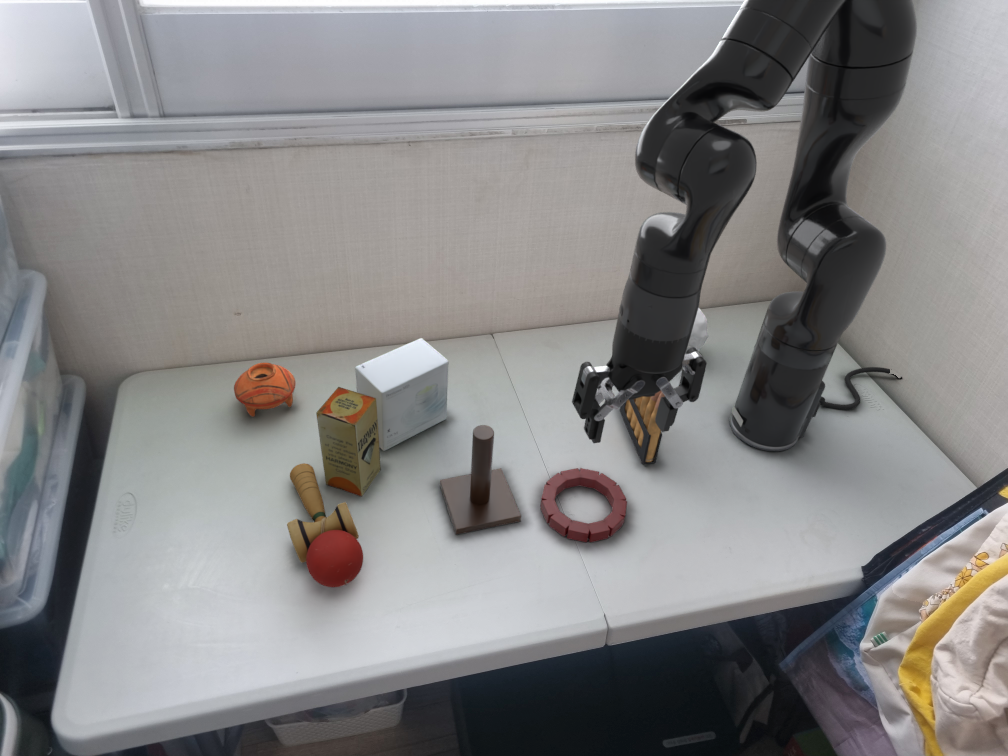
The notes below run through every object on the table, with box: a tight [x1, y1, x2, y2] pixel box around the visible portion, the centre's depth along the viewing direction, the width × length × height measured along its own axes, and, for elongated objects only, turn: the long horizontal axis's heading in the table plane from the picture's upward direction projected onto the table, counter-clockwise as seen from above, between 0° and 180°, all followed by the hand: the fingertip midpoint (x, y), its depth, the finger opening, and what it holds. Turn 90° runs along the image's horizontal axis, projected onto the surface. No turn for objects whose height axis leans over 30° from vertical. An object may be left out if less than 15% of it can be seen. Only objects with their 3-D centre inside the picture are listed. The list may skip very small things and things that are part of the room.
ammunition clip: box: [619, 391, 665, 465], centre depth 100 cm, size 11×2×12 cm, turn 10°
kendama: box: [286, 463, 364, 588], centre depth 87 cm, size 8×6×18 cm
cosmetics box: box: [354, 337, 450, 452], centre depth 100 cm, size 10×6×10 cm, turn 131°
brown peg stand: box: [439, 424, 522, 536], centre depth 90 cm, size 8×8×12 cm
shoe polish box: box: [316, 386, 382, 498], centre depth 92 cm, size 5×5×12 cm
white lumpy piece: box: [685, 307, 709, 354], centre depth 115 cm, size 6×8×12 cm
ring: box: [540, 467, 628, 543], centre depth 93 cm, size 10×10×2 cm
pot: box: [233, 362, 296, 417], centre depth 103 cm, size 8×8×7 cm
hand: (627, 432), depth 87 cm, fingers open, 8 cm apart
